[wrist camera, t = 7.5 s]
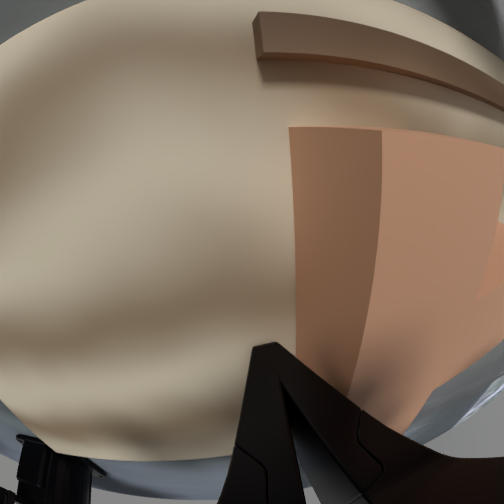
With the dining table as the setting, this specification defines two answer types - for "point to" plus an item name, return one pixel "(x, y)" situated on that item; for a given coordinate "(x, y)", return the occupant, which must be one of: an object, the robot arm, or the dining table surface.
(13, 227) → the board
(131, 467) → the dining table surface
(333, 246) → the t block
